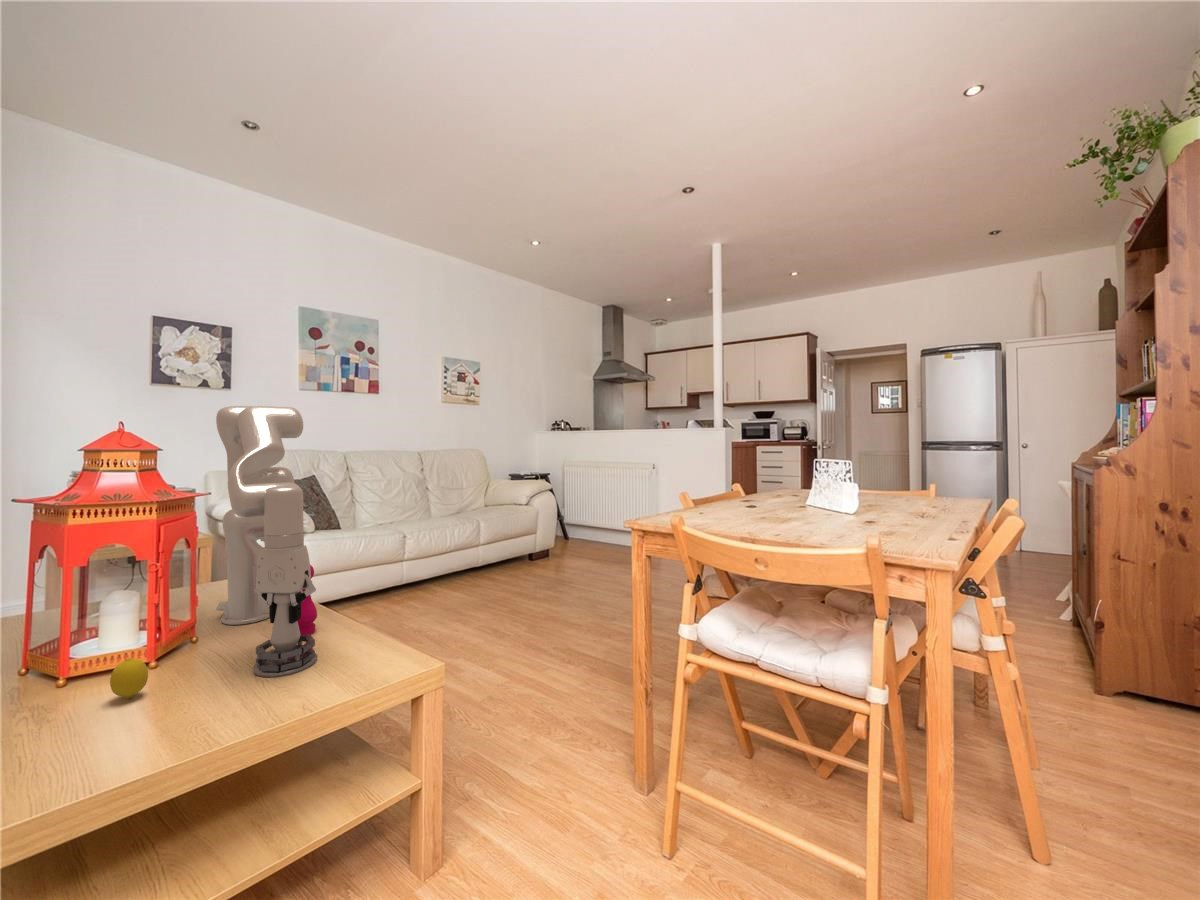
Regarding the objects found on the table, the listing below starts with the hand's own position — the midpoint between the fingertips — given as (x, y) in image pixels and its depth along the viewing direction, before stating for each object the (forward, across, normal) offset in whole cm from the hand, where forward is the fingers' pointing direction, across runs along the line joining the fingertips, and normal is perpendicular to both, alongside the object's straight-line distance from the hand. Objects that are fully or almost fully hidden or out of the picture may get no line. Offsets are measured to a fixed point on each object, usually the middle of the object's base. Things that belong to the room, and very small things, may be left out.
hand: (285, 620), depth 116 cm
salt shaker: (+6, 0, 0) cm, 6 cm away
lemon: (+10, -21, -16) cm, 28 cm away
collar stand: (+10, 0, 0) cm, 10 cm away
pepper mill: (+10, -8, +18) cm, 22 cm away
